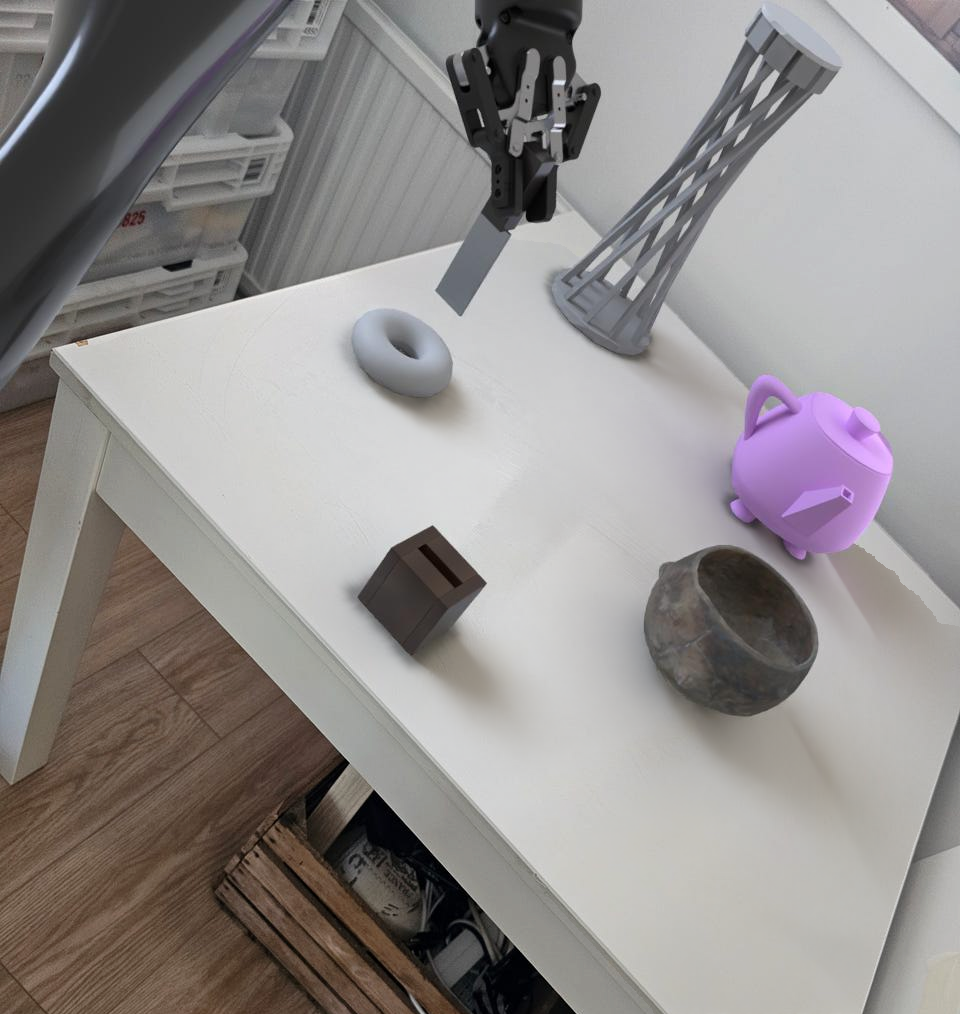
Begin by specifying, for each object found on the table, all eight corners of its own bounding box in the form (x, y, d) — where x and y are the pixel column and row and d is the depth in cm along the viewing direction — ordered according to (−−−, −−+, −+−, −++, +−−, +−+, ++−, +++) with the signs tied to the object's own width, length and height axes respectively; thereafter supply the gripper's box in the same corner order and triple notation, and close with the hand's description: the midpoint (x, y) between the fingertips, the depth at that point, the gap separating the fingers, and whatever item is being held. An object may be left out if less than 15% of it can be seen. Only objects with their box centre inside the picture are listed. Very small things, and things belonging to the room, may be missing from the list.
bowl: (612, 581, 94) (680, 510, 87) (746, 639, 99) (819, 576, 93) (621, 704, 85) (697, 636, 78) (767, 760, 90) (850, 700, 84)
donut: (331, 321, 96) (365, 399, 91) (345, 292, 93) (381, 369, 89) (421, 337, 102) (457, 410, 97) (437, 309, 99) (475, 383, 95)
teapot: (673, 514, 106) (773, 409, 96) (697, 419, 120) (785, 320, 110) (824, 617, 109) (936, 526, 99) (830, 513, 123) (927, 424, 113)
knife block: (356, 597, 77) (391, 547, 73) (398, 573, 81) (432, 524, 77) (410, 655, 76) (448, 608, 72) (449, 629, 80) (487, 583, 76)
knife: (428, 292, 83) (517, 137, 73) (443, 288, 84) (532, 136, 75) (453, 318, 82) (546, 166, 73) (467, 314, 84) (560, 164, 74)
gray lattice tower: (661, 336, 128) (870, 74, 104) (621, 368, 118) (842, 86, 95) (579, 263, 128) (769, -15, 105) (533, 289, 119) (731, -12, 95)
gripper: (491, -97, 64) (487, 202, 69) (637, -37, 73) (625, 224, 78) (416, -62, 70) (417, 214, 74) (560, -9, 79) (553, 233, 83)
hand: (524, 218), depth 76 cm, fingers closed on knife, 2 cm apart
